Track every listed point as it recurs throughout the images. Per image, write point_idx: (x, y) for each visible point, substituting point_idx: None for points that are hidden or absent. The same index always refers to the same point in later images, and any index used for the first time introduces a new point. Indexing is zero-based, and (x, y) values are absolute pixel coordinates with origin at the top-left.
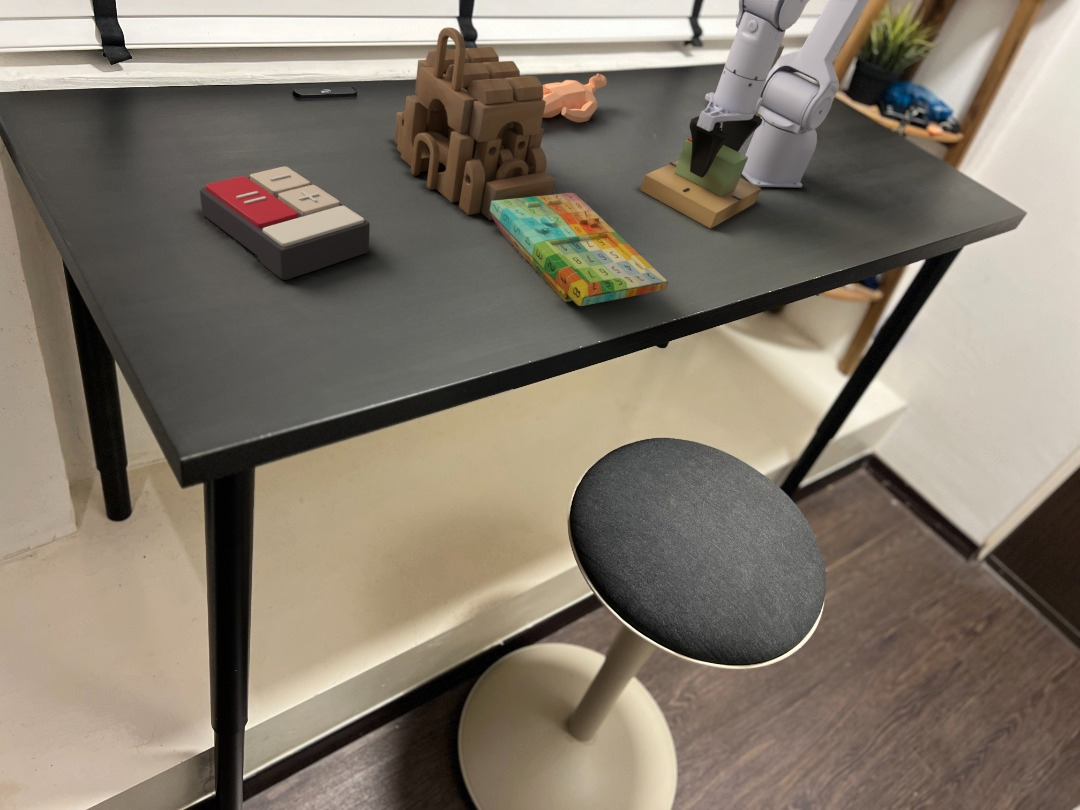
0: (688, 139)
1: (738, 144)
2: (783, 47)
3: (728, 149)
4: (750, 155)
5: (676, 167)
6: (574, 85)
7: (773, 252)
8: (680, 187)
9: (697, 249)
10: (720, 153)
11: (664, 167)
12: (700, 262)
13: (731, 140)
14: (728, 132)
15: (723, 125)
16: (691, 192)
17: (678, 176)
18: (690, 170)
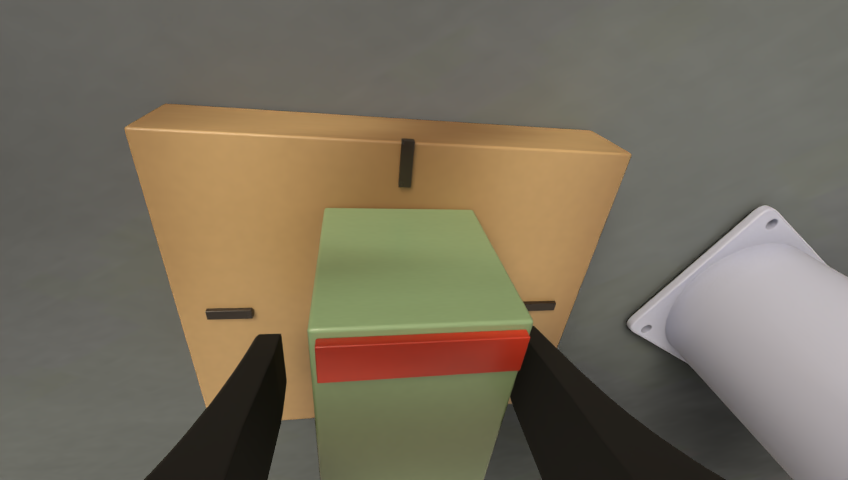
0: (317, 349)
1: (544, 476)
2: None
3: (464, 463)
4: (751, 312)
5: (322, 223)
6: None
7: (305, 471)
8: (224, 290)
9: (74, 409)
10: (365, 476)
11: (329, 146)
12: (25, 439)
13: (558, 453)
14: (585, 466)
15: (615, 466)
16: (242, 328)
17: (316, 233)
18: (253, 341)
